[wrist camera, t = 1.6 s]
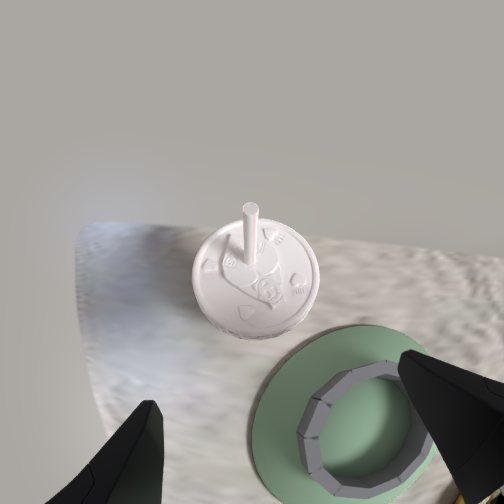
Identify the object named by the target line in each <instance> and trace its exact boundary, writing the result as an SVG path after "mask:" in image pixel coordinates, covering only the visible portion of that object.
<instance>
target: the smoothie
mask: <svg viewBox="0 0 504 504" xmlns="http://www.w3.org/2000/svg"><path fill="white" fill-rule="evenodd" d="M258 211H259V208H258V206H257V205H256V204H254V203H247V204H245V205H244V206H243V219H241V220H237V221H233V222H231V223H228V224H226V225H224V226H222V227H220V228H219V229H217V230H216V231H214V232H213V233H212V234H211V235H210V236H209V237H208V238H207V239H206V240H205V241H204V242H203V244H202V245H201V247H200V248H199V250H198V252H197V254H196V257H195V259H194V263H193V268H192V285H193V289H194V293H195V296H196V299H197V301H198V304H199V306H200V309H201V310H202V312H203V313H204V314H205V316H206V317H207V318H208V319H209V321H210V322H211V323H212V324H214V325H215V326H216V327H218V328H219V329H220V330H222V331H223V332H225V333H227V334H230V335H232V336H235V337H238V338H240V339H246V340H252V341H255V340H263V339H269V338H275V337H278V336H280V335H282V334H284V333H286V332H288V331H290V330H292V329H293V328H294V327H295V326H296V325H298V324H299V323H300V322H301V321H302V320H303V319H304V318H305V316H306V315H307V313H308V312H309V310H310V309H311V307H312V306H313V302H314V300H315V298H316V295H317V292H318V288H319V280H320V277H319V267H318V263H317V259H316V257H315V254H314V252H313V250H312V249H311V247H310V246H309V244H308V243H307V242H306V240H305V239H304V238H303V237H302V236H301V235H300V234H299V233H297V232H296V231H294V230H293V229H292V228H290V227H288V226H286V225H284V224H282V223H280V222H277V221H274V220H270V219H263V218H258Z"/></svg>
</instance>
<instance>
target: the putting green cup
mask: <svg viewBox="0 0 504 504" xmlns="http://www.w3.org/2000/svg"><path fill="white" fill-rule="evenodd" d="M409 349H413V350H415V351H418V352H420V353H423V354H425V355H428V356H430V355H429V354H428V352H427V351H426V350H425V349H424V348H423V347H422V346H421V345H420V344H418V343H417V342H416V341H415V340H413V339H412V338H410V337H408V336H407V335H405V334H403V333H401V332H398V331H396V330H393V329H389V328H385V327H379V326H355V327H349V328H344V329H341V330H337V331H334V332H331V333H329V334H327V335H324V336H322V337H320V338H318V339H316V340H315V341H313V342H311V343H309V344H308V345H306V346H305V347H304V348H302V349H301V350H299V351H298V352H297V353H295V354H294V355H293V356H292V357H291V358H290V359H289V360H288V361H287V362H286V363H285V364H284V365H283V366H282V367H281V368H280V370H279V371H278V372H277V373H276V374H275V375H274V377H273V379H272V380H271V381H270V383H269V384H268V386H267V388H266V390H265V392H264V394H263V395H262V397H261V399H260V402H259V405H258V408H257V410H256V413H255V418H254V422H253V427H252V451H253V457H254V461H255V465H256V468H257V471H258V473H259V475H260V477H261V479H262V481H263V482H264V484H265V485H266V487H267V488H268V490H269V491H270V492H271V493H272V494H273V495H274V496H275V497H276V498H277V499H278V500H280V501H281V502H282V503H284V504H386V503H388V502H390V501H391V500H393V499H394V498H396V497H397V496H399V495H400V494H401V493H402V492H404V491H405V490H406V489H407V488H408V487H409V486H411V485H412V484H413V483H414V482H415V481H416V479H417V478H418V477H419V476H420V475H421V474H422V472H423V471H424V470H425V468H426V467H427V465H428V464H429V462H430V461H431V459H432V457H433V455H434V454H435V452H436V450H437V446H436V445H435V443H434V441H433V439H432V437H431V436H430V434H429V432H428V430H427V428H426V427H425V425H424V423H423V421H422V420H421V418H420V416H419V415H418V413H417V411H416V409H415V408H414V406H413V404H412V402H411V400H410V398H409V396H408V394H407V392H406V389H405V387H404V385H403V383H402V381H401V379H400V376H399V374H398V371H397V367H398V363H399V360H400V356H401V353H402V352H404V351H406V350H409ZM430 357H431V356H430Z"/></svg>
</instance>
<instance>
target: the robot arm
mask: <svg viewBox="0 0 504 504" xmlns="http://www.w3.org/2000/svg"><path fill="white" fill-rule="evenodd" d="M397 371H398V374H399V376H400V379H401V381H402V383H403V385H404V387H405V389H406V392H407V394H408V396H409V398H410V400H411V402H412V404H413V406H414V408H415V409H416V411H417V413H418V415H419V416H420V418H421V420H422V421H423V423H424V425H425V427H426V428H427V430H428V432H429V434H430V436H431V437H432V439H433V441H434V443H435V445H436V446H437V448H438V450H439V452H440V454H441V456H442V458H443V460H444V461H445V463H446V465H447V467H448V469H449V471H450V473H451V475H452V477H453V479H454V481H455V483H456V485H457V487H458V490H459V492H460V494H461V496H462V498H463V500H464V502H465V504H479V503H480V502H482V501H483V500H484V499H486V498H487V497H489V496H490V495H491V494H493V493H494V492H495V491H497V490H498V489H499V490H500V493H498V494H497V495H496V496H495V497H494V498H493V499H492V500H491V501H490V504H504V383H501V382H498V381H495V380H492V379H489V378H486V377H483V376H481V375H478V374H475V373H472V372H470V371H467V370H464V369H462V368H459V367H456V366H454V365H451V364H449V363H446V362H443V361H441V360H438V359H436V358H433V357H430V356H428V355H425V354H423V353H420V352H418V351H415V350H413V349H409V350H406V351H404V352H402V353H401V356H400V360H399V363H398V367H397ZM163 467H164V431H163V416H162V413H161V411H160V409H159V407H158V406H157V404H156V402H155V401H154V400H143V401H142V402H141V403H140V404H139V405H138V407H137V408H136V409H135V410H134V411H133V412H132V414H131V415H130V416H129V417H128V418H127V419H126V421H125V422H124V423H123V424H122V425H121V426H120V427H119V429H118V430H117V431H116V432H115V433H114V434H113V436H112V437H111V438H110V439H109V440H108V441H107V442H106V444H105V445H104V446H103V447H102V448H101V449H100V451H99V452H98V453H97V454H96V455H95V456H94V457H93V459H92V460H91V461H90V462H89V464H87V465H86V466H85V468H84V469H83V470H82V471H81V472H80V473H79V474H78V475H77V476H76V477H75V478H74V479H73V480H72V481H71V482H70V483H69V484H68V485H67V486H65V487H64V488H63V489H62V490H61V491H60V492H59V493H57V494H56V495H55V496H54V497H53V498H51V499H50V500H49V501H48V502H46V503H45V504H161V500H162V482H163Z"/></svg>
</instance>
